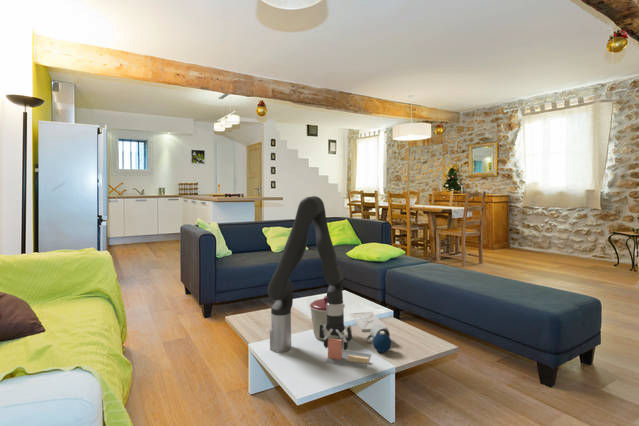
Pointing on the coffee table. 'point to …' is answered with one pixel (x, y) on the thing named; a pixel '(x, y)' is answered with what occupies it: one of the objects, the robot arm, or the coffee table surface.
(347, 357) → the mat
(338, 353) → the box
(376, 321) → the envelope
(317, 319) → the canister
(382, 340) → the christmas ornament
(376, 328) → the ceramic mug
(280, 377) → the coffee table surface
